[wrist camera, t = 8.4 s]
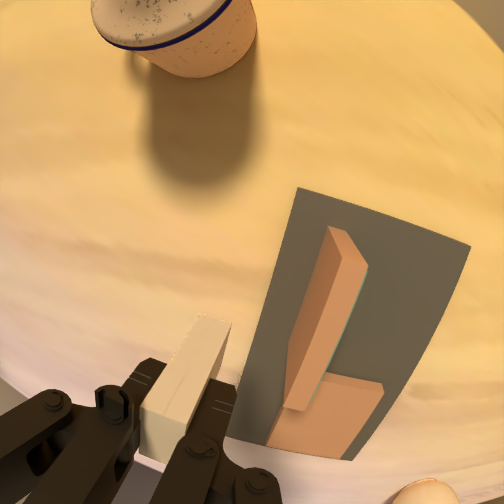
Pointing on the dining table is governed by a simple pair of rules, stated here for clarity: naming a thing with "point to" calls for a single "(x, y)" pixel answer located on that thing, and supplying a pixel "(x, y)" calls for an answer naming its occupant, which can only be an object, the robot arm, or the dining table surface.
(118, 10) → the teacup with lid
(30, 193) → the dining table surface
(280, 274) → the mat
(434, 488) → the lidded jar
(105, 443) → the robot arm
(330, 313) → the tile near
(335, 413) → the tile far
